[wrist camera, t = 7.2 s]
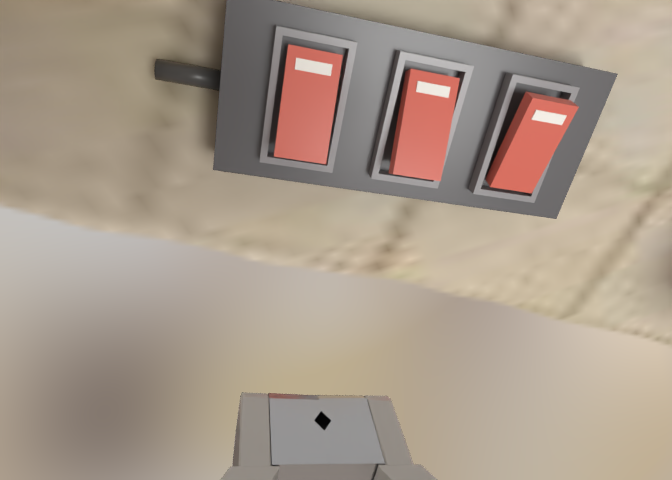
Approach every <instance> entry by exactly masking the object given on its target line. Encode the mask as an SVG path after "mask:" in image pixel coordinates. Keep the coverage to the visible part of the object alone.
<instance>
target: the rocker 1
mask: <svg viewBox="0 0 672 480" xmlns="http://www.w3.org/2000/svg"><path fill="white" fill-rule="evenodd" d="M342 58H343V55H340V54H335V53H330V52H325V51H320V50H315V49H310V48H305V47H300V46H295V45H290V44H288V47H287V55H286V62H285V70H284V78H283V86H282V94H281V101H280V109H279V117H278V125H277V133H276V140H275V148H274V157H281V158H287V159H294V160H300V161H307V162H314V163H320V164H326V161H327V155H328V148H329V142H330V135H331V129H332V122H333V116H334V110H335V103H336V97H337V90H338V84H339V77H340V71H341V64H342Z"/></svg>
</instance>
